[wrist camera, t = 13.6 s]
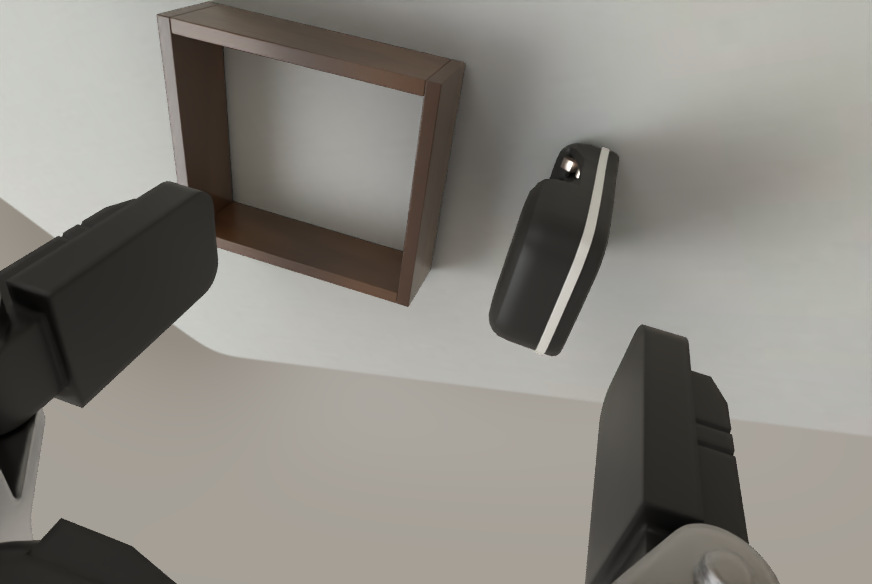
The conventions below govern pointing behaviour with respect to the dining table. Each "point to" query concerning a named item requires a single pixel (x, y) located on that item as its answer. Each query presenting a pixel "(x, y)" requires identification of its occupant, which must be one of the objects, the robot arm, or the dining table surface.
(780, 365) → the dining table surface
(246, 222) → the walnut box
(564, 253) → the battery charger
